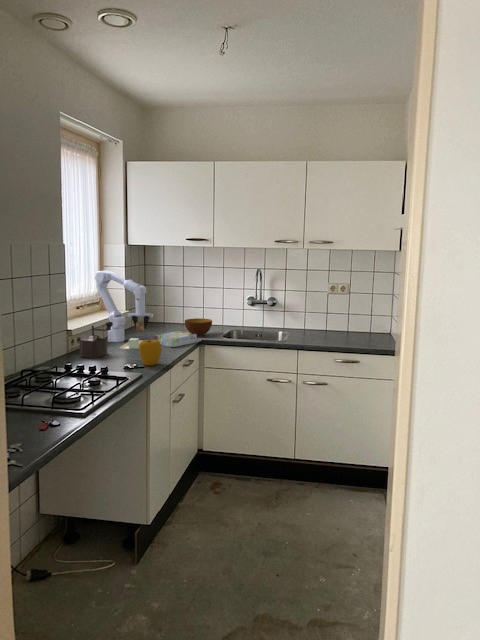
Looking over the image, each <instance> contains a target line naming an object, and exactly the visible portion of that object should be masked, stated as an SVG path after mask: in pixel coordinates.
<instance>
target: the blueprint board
mask: <svg viewBox="0 0 480 640" xmlns="http://www.w3.org/2000/svg"><path fill="white" fill-rule="evenodd" d="M143 340H144V339H143ZM143 340H141V339H139V344H140V342H141V341H143ZM119 349H125V350H126V349H127V350H128V349H129V350H130V349H131V350H132V348H129V341H127V342H126V343H124V344H123V345H122V346H120V347H119ZM137 350H139V347H138V348H137Z"/></svg>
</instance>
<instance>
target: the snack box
mask: <svg viewBox="0 0 480 640" xmlns="http://www.w3.org/2000/svg"><path fill="white" fill-rule="evenodd" d="M154 340H157V341H159V342H160V344H161V346H166V347H171V348H177V347H181V346H186V345H191V344H195V343H197V342H198V341H197V334H192V333H190V332H185V331H179V330H177V331H171V332H166V333H161V334H155V335H154Z"/></svg>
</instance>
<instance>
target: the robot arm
mask: <svg viewBox="0 0 480 640" xmlns="http://www.w3.org/2000/svg"><path fill="white" fill-rule="evenodd" d="M94 280H95V284H96V289H97V292H98V294H99V295H100V298H101V299H102V302H103V304H104V306H105V308H106V310H107V312H108V320H109V321H110V322H112V323H113V326H112V327H111V330H109V331H107V343H109V342H113V343H114V342H115V343H116V342H117V343H118V342H119V343H120V342H121V343H122V342H125V325H126V324H127V323H126V322H127V318H126V317H125V316H124V315H123V314H122V312H121V311H120V310H118V308H117V306H116V303H115V302H114V300H113V298H112V294H111V293H110V291H109V290H108V285H109V283H110V281H114V282H116V283H118V284H120V285H122V286H123V288H124V289H125V290H128V291H130V293H133V295H134V296H135V297H134V299H135V301H134V302H135V312H128V313H127V314H128V315H127V317H128V318H129V317H130V318H131V320H132V322H133V324H134V327H135V328H136V323H137V322H139V321H138V320H139V318H142V317H143V322H144V329H147V327H148V322H149V320H150V318H153V317H154V313H153V312H151V313H149V312H146V294H147V291H148V289H147V286H145V285H144V284H140V283H137V282H134V280H133V279H125V278H124V277H121V275H118V274H116V273H115V272H114V271H111V270H109V269H106V270H99V271H96V273H95V275H94Z"/></svg>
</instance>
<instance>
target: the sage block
mask: <svg viewBox="0 0 480 640" xmlns="http://www.w3.org/2000/svg"><path fill="white" fill-rule="evenodd" d="M139 340H140V337H139V338H138V337H137V338H135V337H134V338H133V337H130V339H128V342H129V348H132V349H133V350H135V349H137V348H138V347H139ZM132 349H131V350H132ZM137 350H138V349H137Z"/></svg>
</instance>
